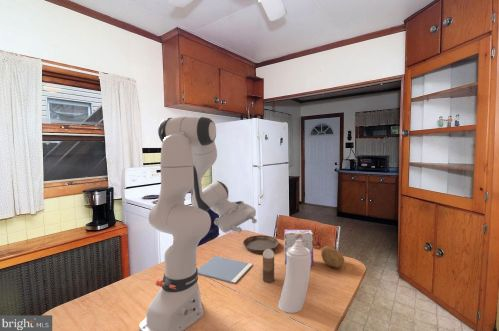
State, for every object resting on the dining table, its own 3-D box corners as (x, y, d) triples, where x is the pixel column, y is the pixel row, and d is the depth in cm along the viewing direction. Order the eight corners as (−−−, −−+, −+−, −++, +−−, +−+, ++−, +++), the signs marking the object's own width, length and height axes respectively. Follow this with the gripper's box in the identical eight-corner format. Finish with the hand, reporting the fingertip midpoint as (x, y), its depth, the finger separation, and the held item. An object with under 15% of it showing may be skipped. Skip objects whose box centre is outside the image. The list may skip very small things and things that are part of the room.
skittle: (271, 284, 106) (271, 252, 105) (261, 281, 108) (261, 250, 107) (275, 278, 111) (275, 248, 109) (265, 275, 113) (265, 246, 112)
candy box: (311, 260, 127) (311, 229, 126) (313, 266, 121) (313, 233, 120) (284, 259, 129) (284, 228, 127) (284, 265, 123) (284, 232, 121)
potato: (331, 274, 114) (331, 257, 113) (316, 260, 128) (316, 245, 127) (350, 271, 116) (350, 255, 115) (333, 258, 129) (334, 243, 129)
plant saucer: (260, 258, 130) (260, 252, 130) (235, 247, 145) (235, 241, 145) (285, 247, 144) (285, 241, 144) (260, 237, 159) (260, 232, 159)
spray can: (289, 291, 101) (290, 232, 98) (314, 302, 94) (315, 238, 92) (274, 306, 92) (273, 241, 89) (299, 319, 85) (300, 249, 83)
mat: (235, 283, 107) (235, 282, 107) (194, 273, 116) (194, 271, 116) (252, 265, 123) (252, 263, 123) (215, 256, 132) (215, 255, 132)
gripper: (211, 215, 114) (230, 231, 105) (244, 199, 127) (263, 211, 118) (212, 226, 117) (230, 242, 108) (244, 209, 130) (263, 222, 121)
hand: (248, 226), depth 113 cm, fingers open, 8 cm apart
